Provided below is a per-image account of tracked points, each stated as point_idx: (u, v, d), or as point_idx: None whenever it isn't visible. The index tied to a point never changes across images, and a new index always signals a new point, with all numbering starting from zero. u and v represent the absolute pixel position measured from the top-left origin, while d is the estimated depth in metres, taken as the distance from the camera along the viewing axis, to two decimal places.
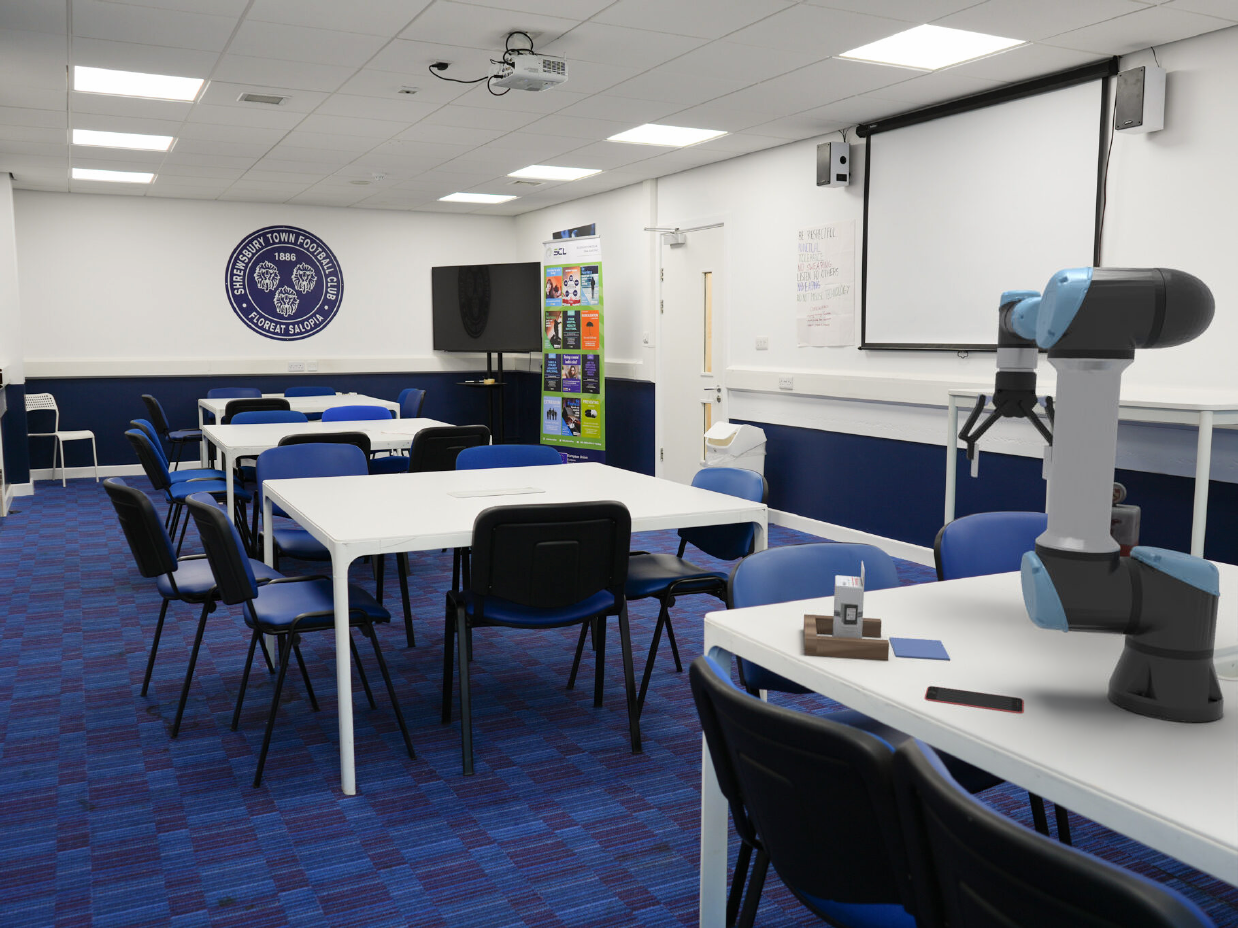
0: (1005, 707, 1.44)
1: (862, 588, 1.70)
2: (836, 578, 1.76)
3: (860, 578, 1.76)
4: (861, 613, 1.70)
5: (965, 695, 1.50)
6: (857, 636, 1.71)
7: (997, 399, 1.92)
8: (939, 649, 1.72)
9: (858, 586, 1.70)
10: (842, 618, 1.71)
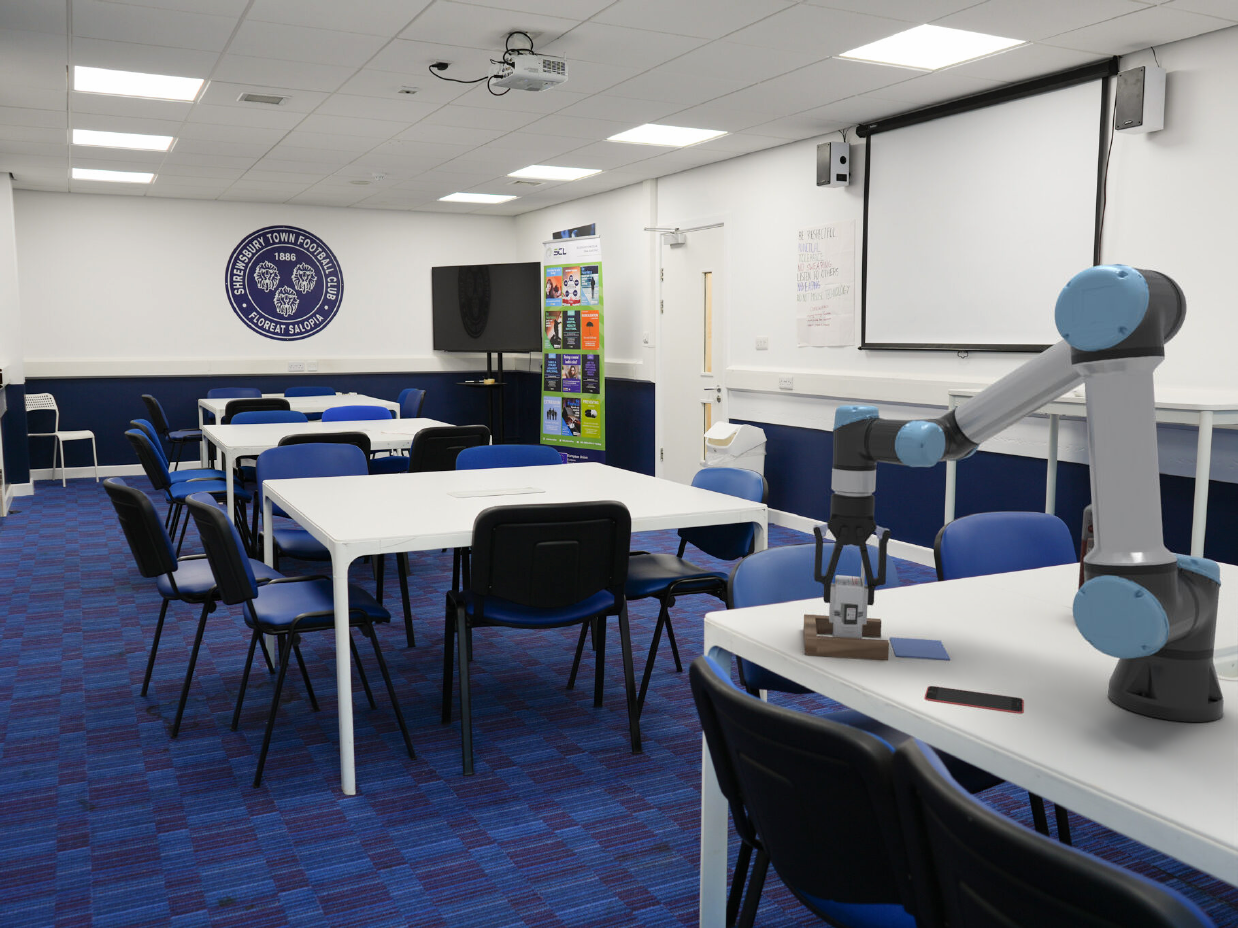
0: (1004, 707, 1.44)
1: (862, 588, 1.70)
2: (836, 578, 1.76)
3: (860, 578, 1.76)
4: (861, 613, 1.70)
5: (965, 694, 1.50)
6: (857, 636, 1.71)
7: (832, 525, 1.73)
8: (939, 649, 1.72)
9: (858, 586, 1.70)
10: (842, 618, 1.71)
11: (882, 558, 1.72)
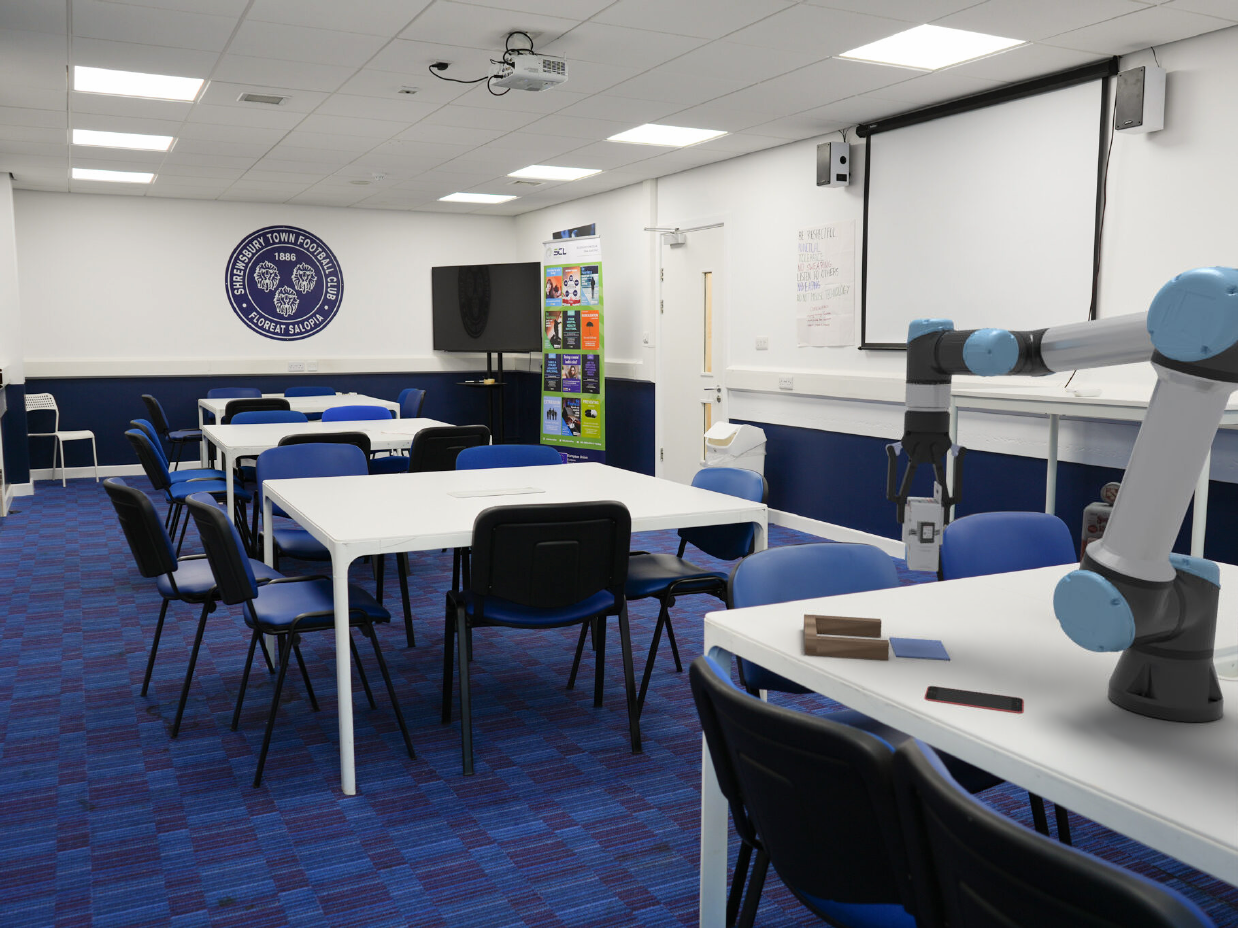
0: (1004, 707, 1.44)
1: (939, 505, 1.66)
2: (909, 499, 1.72)
3: (933, 499, 1.73)
4: (938, 531, 1.66)
5: (965, 694, 1.50)
6: (934, 555, 1.67)
7: (906, 442, 1.69)
8: (939, 649, 1.72)
9: (935, 503, 1.66)
10: (919, 536, 1.67)
11: (958, 475, 1.68)
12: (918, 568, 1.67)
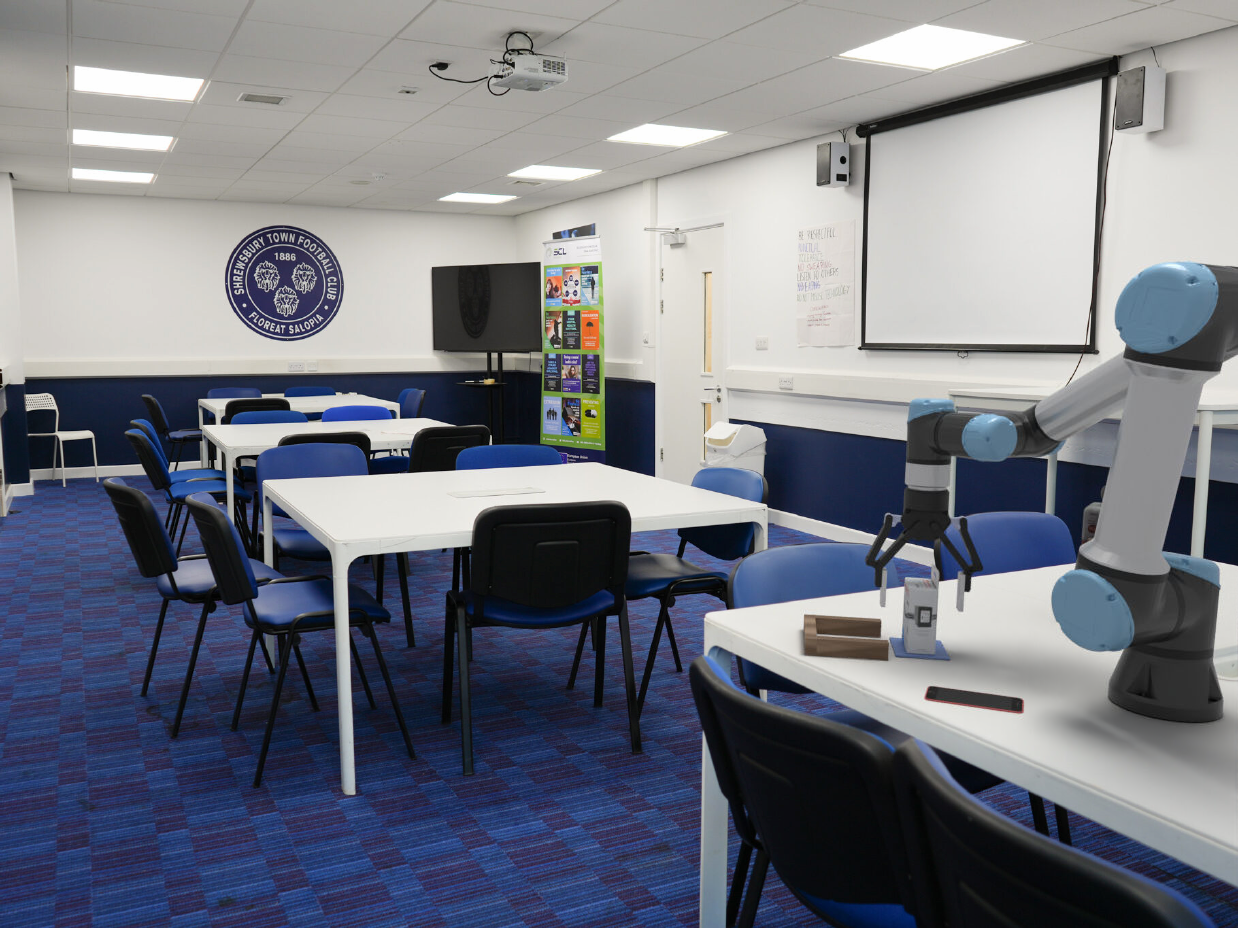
0: (1004, 707, 1.44)
1: (937, 590, 1.68)
2: (907, 580, 1.74)
3: (931, 580, 1.74)
4: (935, 615, 1.68)
5: (965, 694, 1.50)
6: (931, 639, 1.69)
7: (905, 519, 1.70)
8: (939, 649, 1.72)
9: (932, 588, 1.68)
10: (916, 620, 1.69)
11: (969, 546, 1.69)
12: (915, 651, 1.69)
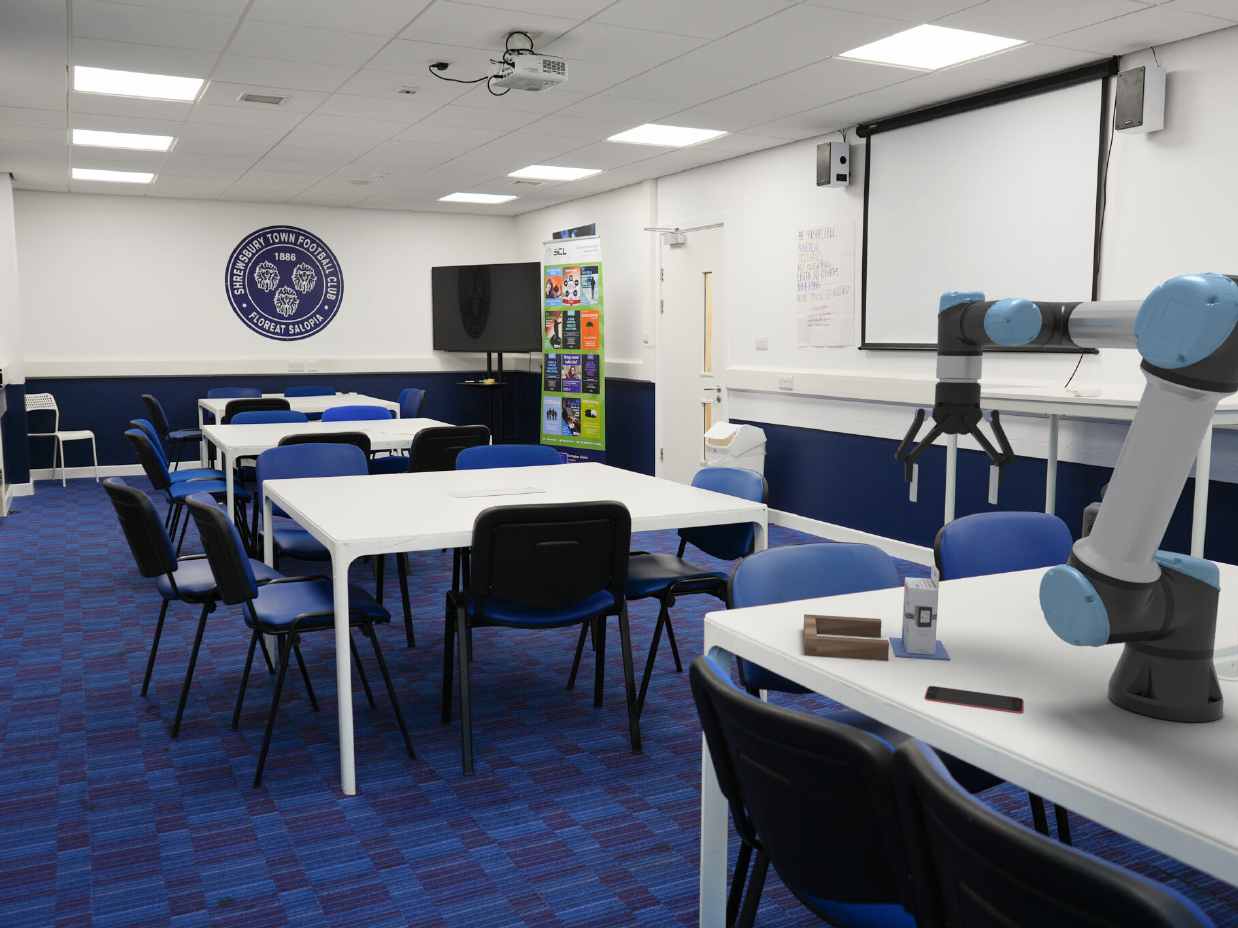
0: (1004, 707, 1.44)
1: (937, 590, 1.68)
2: (907, 580, 1.74)
3: (931, 580, 1.74)
4: (935, 615, 1.68)
5: (965, 694, 1.50)
6: (931, 639, 1.69)
7: (937, 414, 1.70)
8: (939, 649, 1.72)
9: (932, 588, 1.68)
10: (916, 620, 1.69)
11: (1002, 437, 1.69)
12: (915, 651, 1.69)
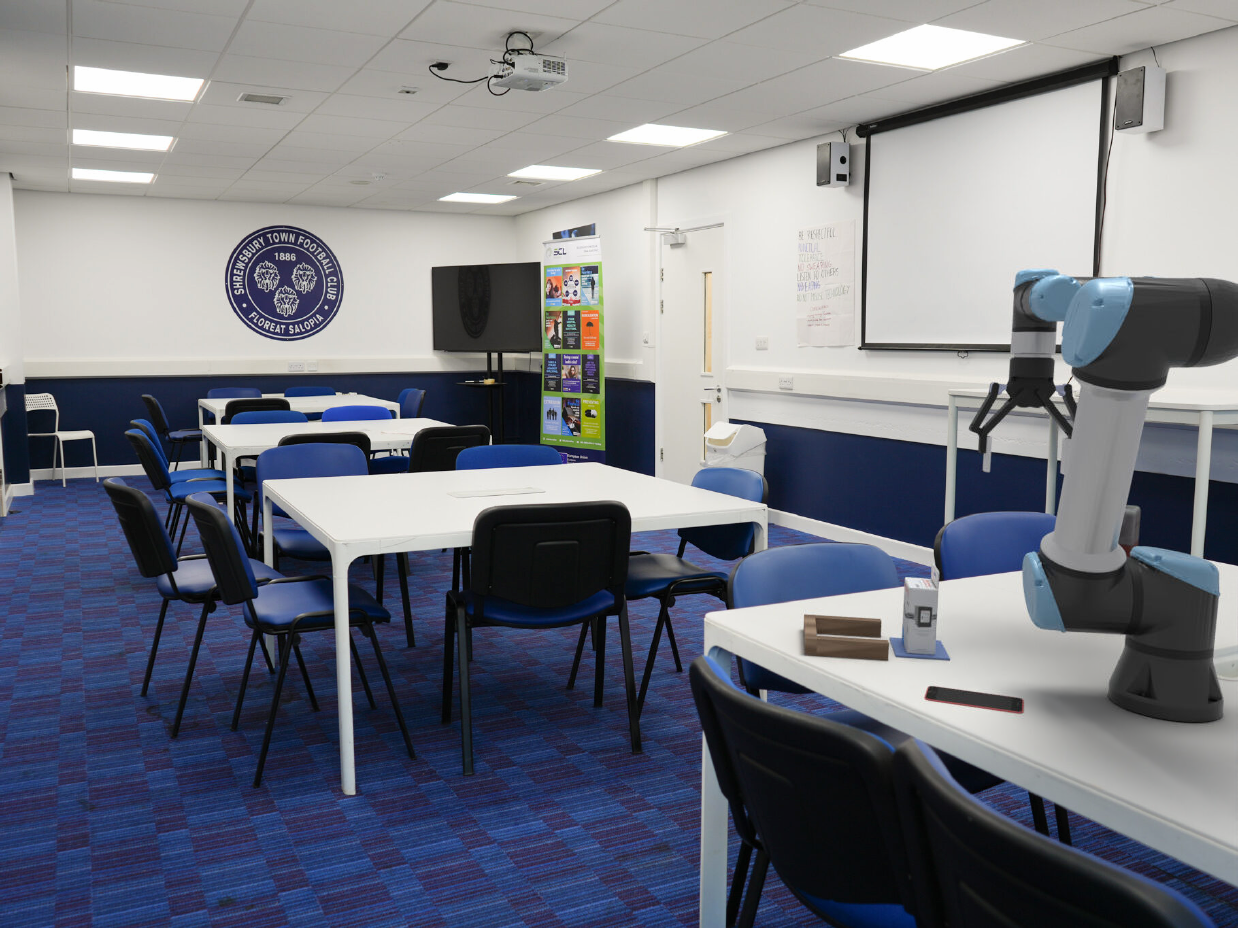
0: (1004, 707, 1.44)
1: (937, 590, 1.68)
2: (907, 580, 1.74)
3: (931, 580, 1.74)
4: (935, 615, 1.68)
5: (965, 694, 1.50)
6: (931, 639, 1.69)
7: (1011, 387, 1.77)
8: (939, 649, 1.72)
9: (932, 588, 1.68)
10: (916, 620, 1.69)
11: (1074, 411, 1.76)
12: (915, 651, 1.69)
